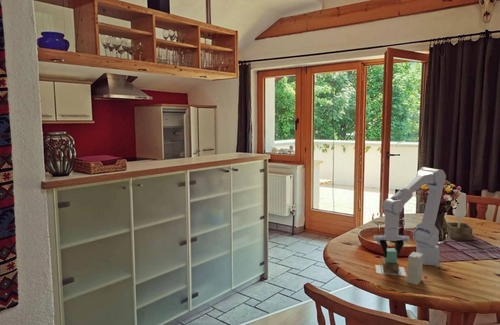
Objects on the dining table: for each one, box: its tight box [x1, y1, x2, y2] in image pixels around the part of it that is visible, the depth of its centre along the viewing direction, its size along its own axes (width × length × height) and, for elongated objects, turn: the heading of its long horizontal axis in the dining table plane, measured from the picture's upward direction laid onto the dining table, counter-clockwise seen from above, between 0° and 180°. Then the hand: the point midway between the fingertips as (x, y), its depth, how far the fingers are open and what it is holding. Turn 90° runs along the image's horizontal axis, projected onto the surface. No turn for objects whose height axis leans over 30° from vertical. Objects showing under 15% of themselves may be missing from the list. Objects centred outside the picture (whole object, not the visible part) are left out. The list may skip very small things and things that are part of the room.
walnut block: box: [382, 257, 400, 274], centre depth 165 cm, size 6×6×4 cm
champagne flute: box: [452, 192, 468, 228], centre depth 209 cm, size 7×7×24 cm
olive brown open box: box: [445, 221, 473, 241], centre depth 210 cm, size 11×11×6 cm
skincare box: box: [406, 251, 424, 286], centre depth 154 cm, size 6×4×12 cm
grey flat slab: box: [374, 264, 407, 277], centre depth 166 cm, size 12×9×1 cm
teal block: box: [383, 247, 398, 263], centre depth 165 cm, size 4×4×5 cm
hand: (390, 256), depth 165 cm, fingers closed on teal block, 4 cm apart
